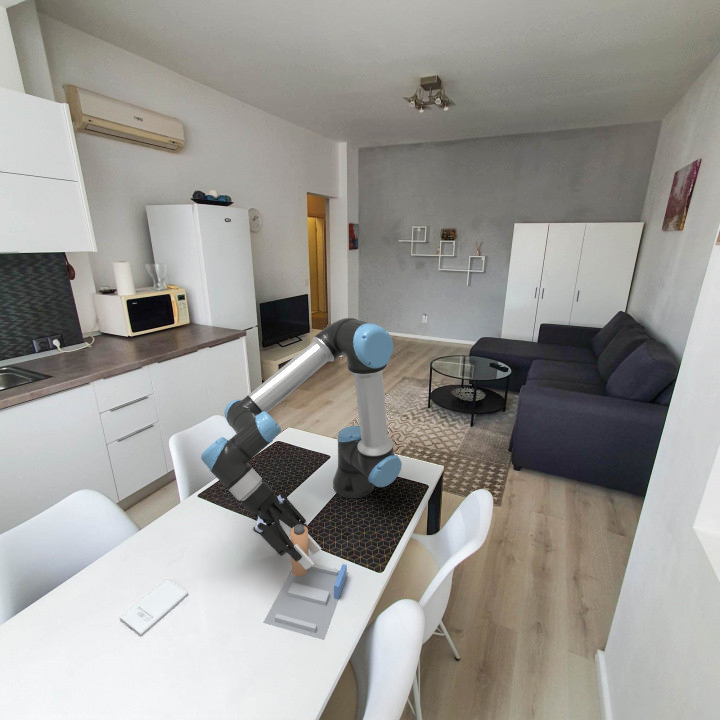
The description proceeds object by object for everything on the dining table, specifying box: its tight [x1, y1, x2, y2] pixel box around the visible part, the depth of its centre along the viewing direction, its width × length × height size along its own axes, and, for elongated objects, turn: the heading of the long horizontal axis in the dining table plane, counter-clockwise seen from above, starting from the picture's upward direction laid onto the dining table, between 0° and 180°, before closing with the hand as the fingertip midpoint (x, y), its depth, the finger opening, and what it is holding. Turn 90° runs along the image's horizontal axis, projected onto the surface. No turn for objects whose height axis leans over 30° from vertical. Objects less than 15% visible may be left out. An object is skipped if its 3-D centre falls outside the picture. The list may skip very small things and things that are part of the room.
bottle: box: [289, 524, 309, 577], centre depth 97 cm, size 4×4×13 cm
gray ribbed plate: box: [263, 563, 349, 641], centre depth 95 cm, size 15×19×5 cm
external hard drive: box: [119, 579, 189, 637], centre depth 93 cm, size 2×8×12 cm
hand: (313, 558), depth 97 cm, fingers closed on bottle, 4 cm apart
